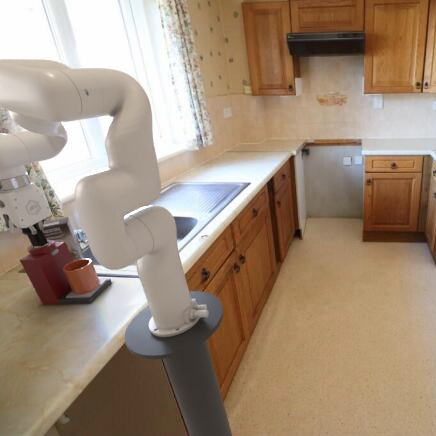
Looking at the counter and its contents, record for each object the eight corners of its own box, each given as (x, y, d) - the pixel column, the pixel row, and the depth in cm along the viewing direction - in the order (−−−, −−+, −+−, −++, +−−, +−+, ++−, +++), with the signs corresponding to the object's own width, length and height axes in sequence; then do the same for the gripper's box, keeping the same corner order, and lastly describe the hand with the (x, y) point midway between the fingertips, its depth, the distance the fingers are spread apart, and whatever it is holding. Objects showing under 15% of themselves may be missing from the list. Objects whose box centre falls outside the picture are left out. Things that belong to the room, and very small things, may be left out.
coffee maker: (112, 282, 102) (95, 241, 96) (90, 303, 93) (71, 259, 86) (83, 283, 102) (65, 242, 96) (59, 304, 93) (37, 260, 87)
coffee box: (51, 272, 109) (31, 230, 102) (53, 264, 114) (34, 223, 107) (84, 263, 113) (66, 222, 106) (84, 255, 118) (67, 216, 111)
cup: (105, 280, 100) (96, 258, 96) (90, 294, 93) (80, 271, 90) (83, 280, 100) (74, 258, 96) (67, 294, 94) (56, 271, 90)
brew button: (52, 246, 92) (50, 242, 92) (44, 252, 90) (41, 247, 89) (42, 247, 93) (40, 242, 92) (33, 252, 90) (31, 247, 89)
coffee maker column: (85, 283, 102) (64, 236, 95) (61, 304, 93) (36, 253, 86) (66, 283, 102) (45, 236, 95) (41, 304, 93) (14, 254, 86)
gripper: (-3, 192, 76) (31, 258, 84) (48, 173, 89) (72, 232, 97) (-33, 193, 76) (3, 259, 84) (22, 174, 90) (48, 232, 97)
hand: (40, 244), depth 91 cm, fingers closed
